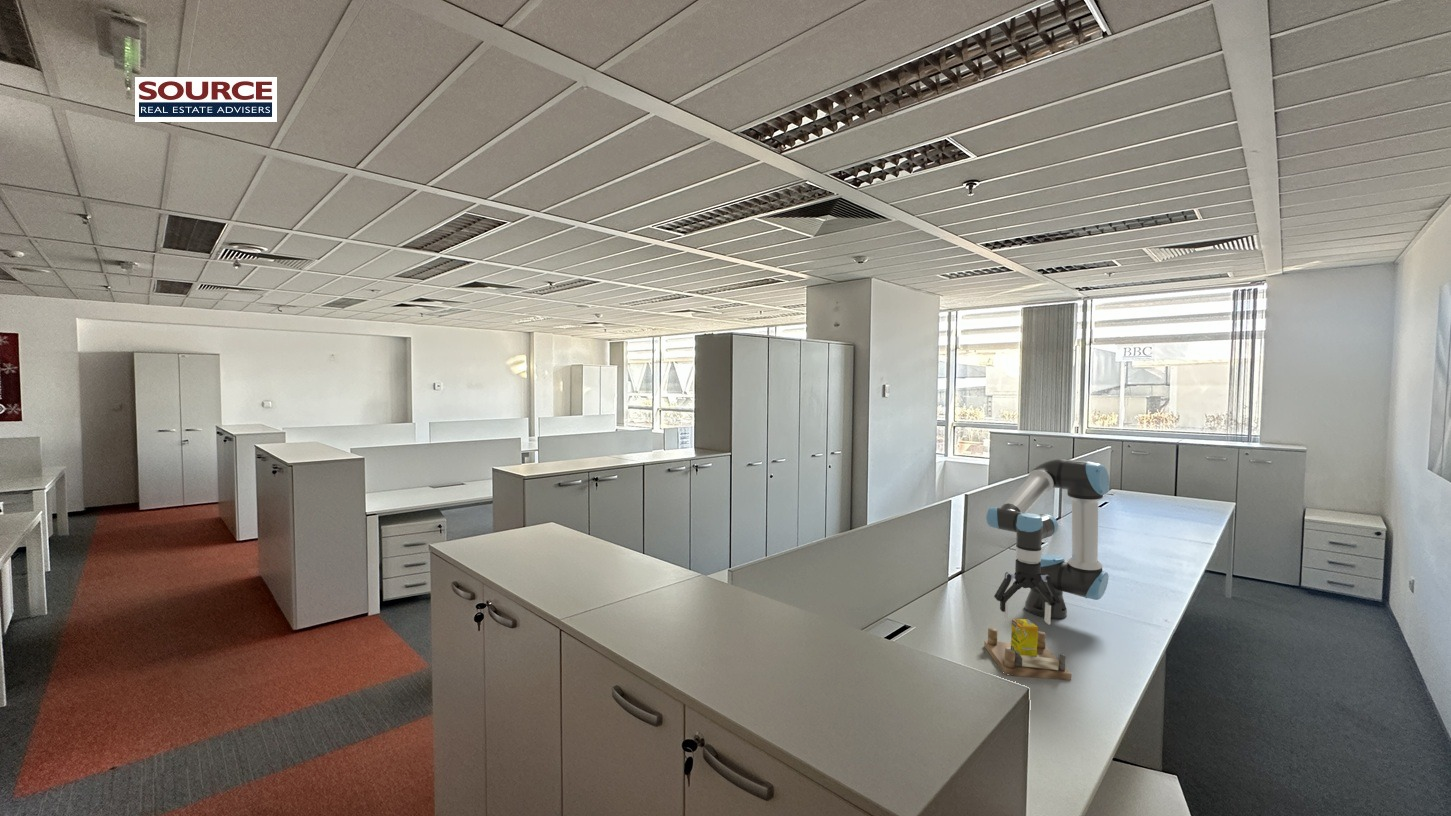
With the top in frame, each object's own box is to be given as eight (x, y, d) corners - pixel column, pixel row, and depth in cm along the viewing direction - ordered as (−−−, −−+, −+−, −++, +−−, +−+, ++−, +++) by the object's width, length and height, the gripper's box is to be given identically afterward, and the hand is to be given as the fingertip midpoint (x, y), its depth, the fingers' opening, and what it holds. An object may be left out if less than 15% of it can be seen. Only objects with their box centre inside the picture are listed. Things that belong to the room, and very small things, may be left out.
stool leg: (1055, 666, 183) (1055, 658, 183) (1058, 670, 180) (1058, 662, 180) (1012, 661, 185) (1013, 654, 185) (1015, 665, 183) (1015, 657, 183)
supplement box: (1010, 649, 194) (1011, 618, 194) (1027, 649, 195) (1028, 618, 194) (1019, 658, 188) (1020, 626, 188) (1037, 658, 189) (1038, 626, 188)
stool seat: (1043, 650, 199) (1044, 630, 199) (1071, 679, 179) (1072, 658, 179) (984, 646, 202) (985, 627, 201) (1004, 674, 182) (1005, 653, 181)
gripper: (1062, 558, 192) (1060, 618, 193) (985, 555, 195) (983, 615, 196) (1073, 565, 185) (1070, 628, 186) (993, 562, 188) (991, 624, 189)
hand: (1026, 621), depth 191 cm, fingers open, 13 cm apart
